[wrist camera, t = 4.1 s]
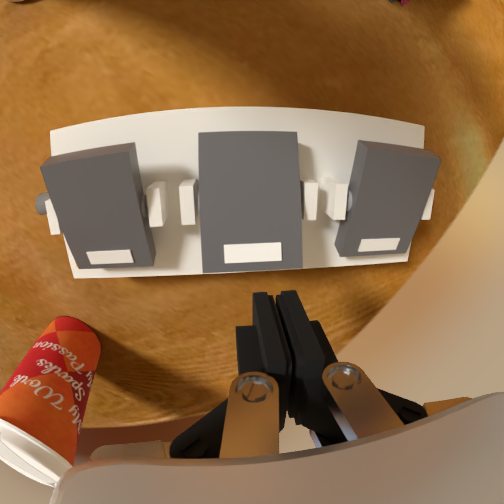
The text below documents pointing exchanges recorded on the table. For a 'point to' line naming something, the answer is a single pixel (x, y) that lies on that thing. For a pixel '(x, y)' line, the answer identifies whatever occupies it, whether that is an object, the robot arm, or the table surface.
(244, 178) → the rocker mid
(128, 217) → the rocker
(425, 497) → the robot arm
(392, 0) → the decorative book
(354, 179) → the rocker
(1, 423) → the coffee cup
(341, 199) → the strip
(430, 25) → the table surface
